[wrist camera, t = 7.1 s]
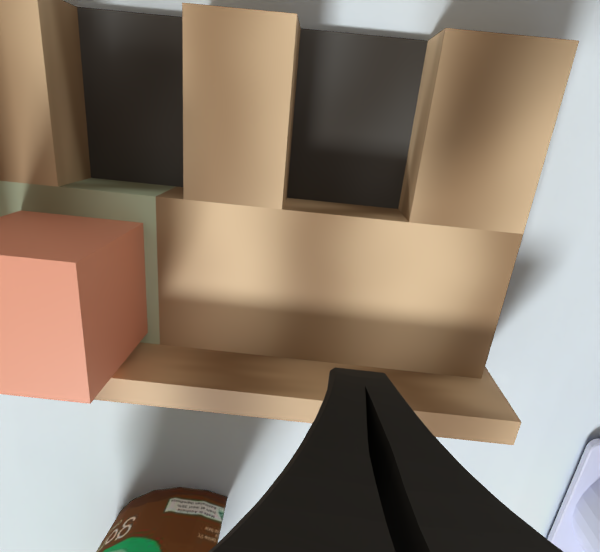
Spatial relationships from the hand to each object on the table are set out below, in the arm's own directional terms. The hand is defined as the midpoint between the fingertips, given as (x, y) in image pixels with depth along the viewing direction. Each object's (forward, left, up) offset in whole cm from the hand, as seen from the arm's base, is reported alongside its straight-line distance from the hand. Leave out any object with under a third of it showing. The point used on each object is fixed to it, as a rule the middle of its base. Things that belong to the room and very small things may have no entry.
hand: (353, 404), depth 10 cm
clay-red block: (+10, 0, -6) cm, 12 cm away
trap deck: (+4, -3, -9) cm, 10 cm away
